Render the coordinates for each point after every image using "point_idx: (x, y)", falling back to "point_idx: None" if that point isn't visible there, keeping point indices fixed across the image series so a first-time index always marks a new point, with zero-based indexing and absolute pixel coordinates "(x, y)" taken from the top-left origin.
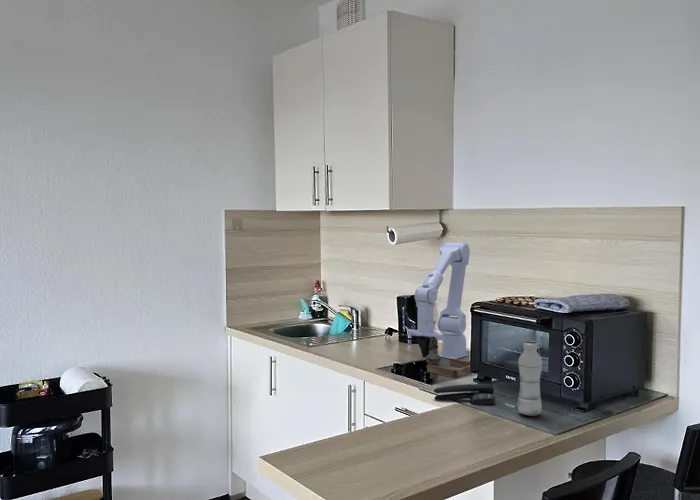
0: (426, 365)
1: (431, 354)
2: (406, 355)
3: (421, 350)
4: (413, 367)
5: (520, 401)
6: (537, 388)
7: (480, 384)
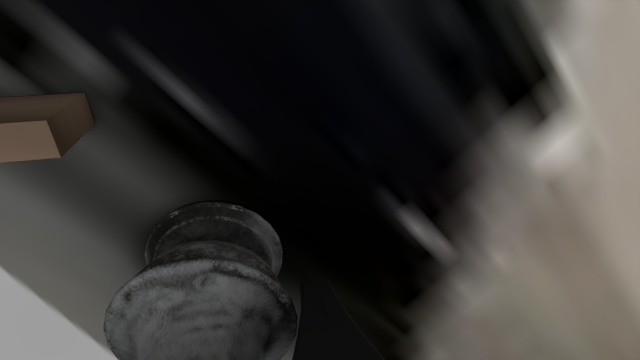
0: (255, 228)
1: (171, 333)
2: (574, 317)
3: (349, 331)
4: (327, 122)
5: None
6: None
7: None
